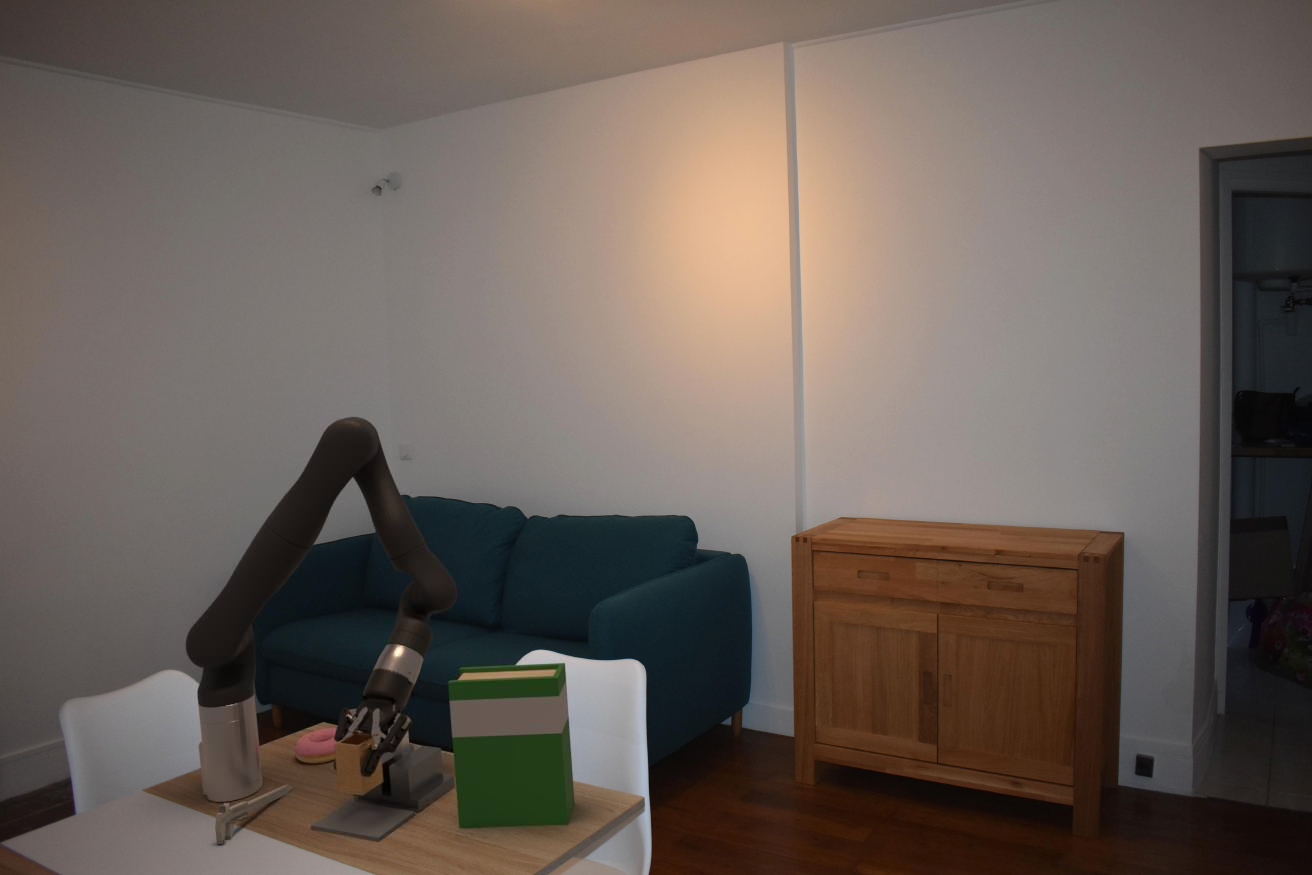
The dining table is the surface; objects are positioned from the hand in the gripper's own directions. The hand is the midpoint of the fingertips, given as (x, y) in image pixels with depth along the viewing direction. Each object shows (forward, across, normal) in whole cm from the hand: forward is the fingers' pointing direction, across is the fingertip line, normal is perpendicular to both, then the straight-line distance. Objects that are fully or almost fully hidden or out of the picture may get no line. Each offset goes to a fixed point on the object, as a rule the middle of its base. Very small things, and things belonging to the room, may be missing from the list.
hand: (351, 772), depth 147 cm
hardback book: (-1, +24, +15) cm, 28 cm away
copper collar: (+1, 0, +4) cm, 4 cm away
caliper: (+8, -20, +6) cm, 22 cm away
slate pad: (+5, 0, +8) cm, 9 cm away
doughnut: (-9, -28, +22) cm, 37 cm away
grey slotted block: (-2, -2, +15) cm, 15 cm away
